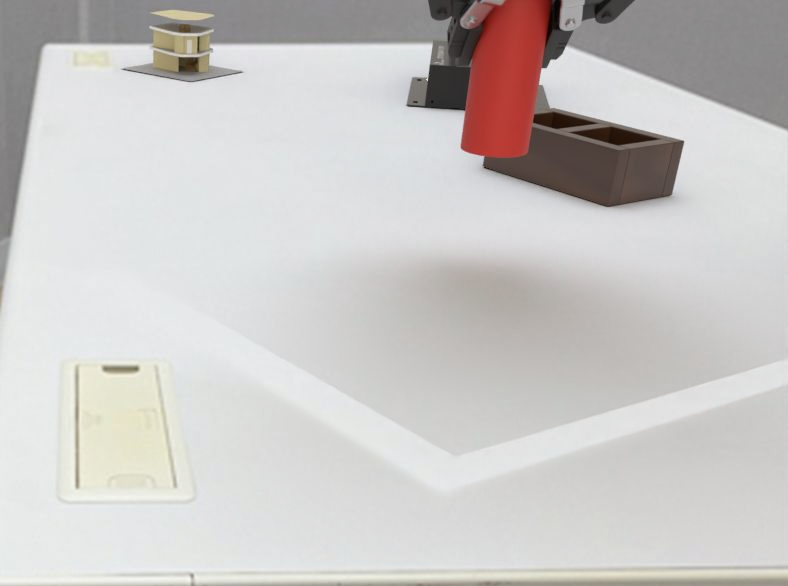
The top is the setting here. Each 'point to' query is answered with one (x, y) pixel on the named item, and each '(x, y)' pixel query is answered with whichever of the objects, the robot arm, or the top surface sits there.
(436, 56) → the wireless controller
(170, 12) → the stacked layers on plate
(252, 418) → the top surface
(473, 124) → the peg
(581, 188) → the brown divided tray
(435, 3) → the robot arm
